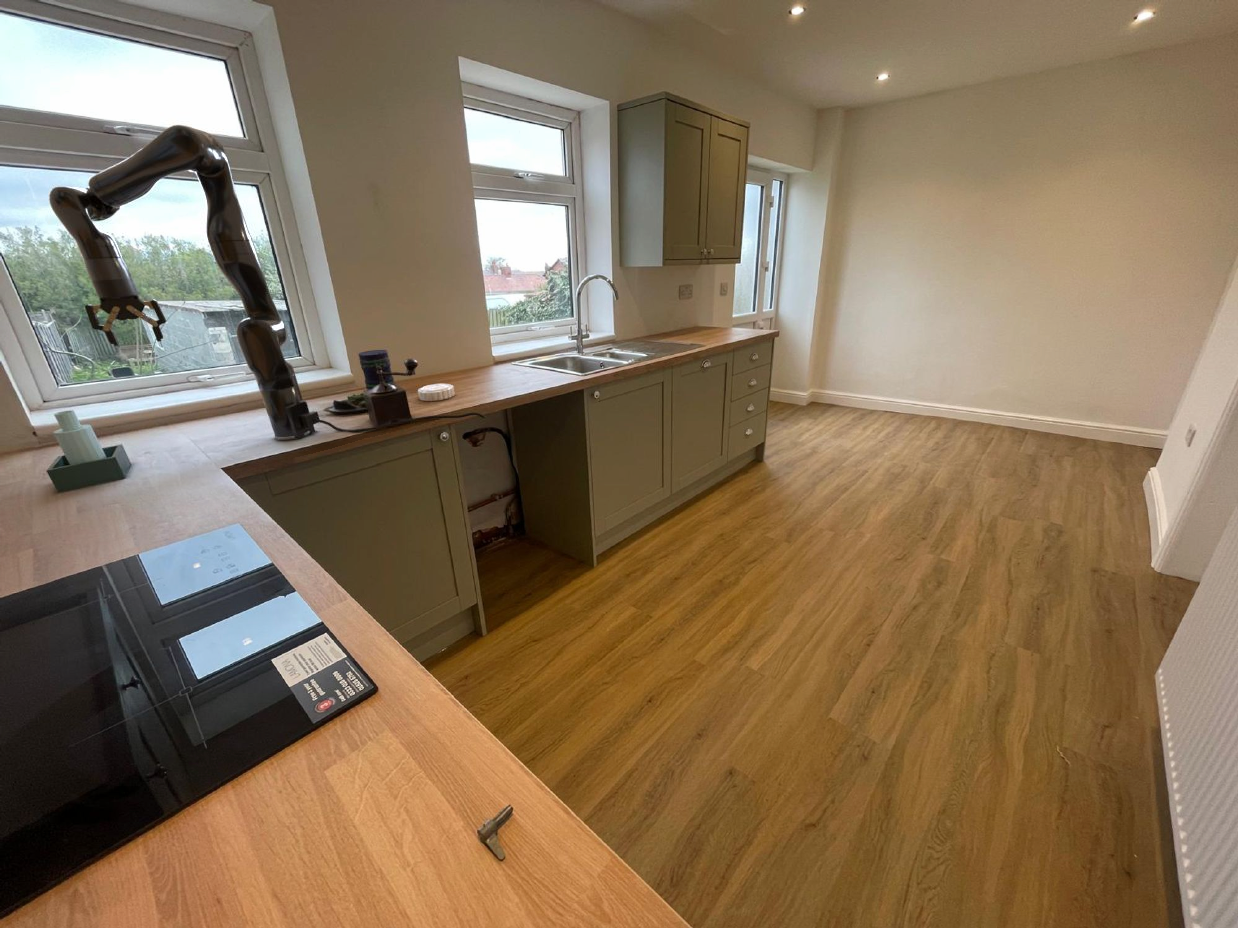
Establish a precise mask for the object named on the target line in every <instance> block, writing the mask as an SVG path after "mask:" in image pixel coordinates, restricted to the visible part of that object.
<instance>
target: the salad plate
mask: <svg viewBox="0 0 1238 928" xmlns="http://www.w3.org/2000/svg"><path fill="white" fill-rule="evenodd" d="M322 411H323V412H328V413H331V414H332V415H334V416H340V417H341V416H342V417H343V416H353V415H354V416H355V415H363V414H368V411H367V407H366V402H365V398H364V394H363V392H361V393H360V392H357V393H356V394H354V393H352V395H349V396H347V397H346V399H342V400H336V399H335V400H333V402H332V405H331V406H328V407H326V408H324V409H322Z"/></svg>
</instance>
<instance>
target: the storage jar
mask: <svg viewBox="0 0 1238 928" xmlns="http://www.w3.org/2000/svg"><path fill="white" fill-rule="evenodd" d="M357 356H358V357H359V358H358V359H359V365H360V368H361V370H362V372H363V376H364V384H365V389H366V390H369V389H373V388H374V387H375V386H377V385H379V384H380V378H379V374H378V373H377V371H378V370H377V366H380V367H381V371H382V372H387V373H388V372H392V368H391V365H392V364H391V360H390V356H389V352H388V350H387V349H375V350H373V349H372V350H367V351H362V352H359V353H358V355H357ZM382 377H383V381H384V383H388V384H392V385H396V382H395V378H394V375H384V374H382Z"/></svg>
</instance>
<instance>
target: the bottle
mask: <svg viewBox="0 0 1238 928" xmlns="http://www.w3.org/2000/svg"><path fill="white" fill-rule="evenodd" d="M53 416H54V417H55V419H56V421H57V423H58V425H59V427H60V428H59V429H57V430H54V431H53V432H52V434H53V435H54V437H55V439H56V441H57V443H58V445H59V447H60V449H61V450H62V452H63V455H65V456H66V458H67V460H68V462H69V464H70V465H74V464H79V463H84V462H89V461H94V460H99V459H104V458H107V457H106V455H105V453H104V451H103V449H102V448H103V447H102V445H101V443H100V441H99V439H98V437H97V435H96V433H95V431H94V429H93V426H92V425H91V424H87V423H86V424H81V422H80V421H79V418H78V416H77V415H76V412H75V410H74V409H69V410H63V411H57V412H55V413H54V414H53Z"/></svg>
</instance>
